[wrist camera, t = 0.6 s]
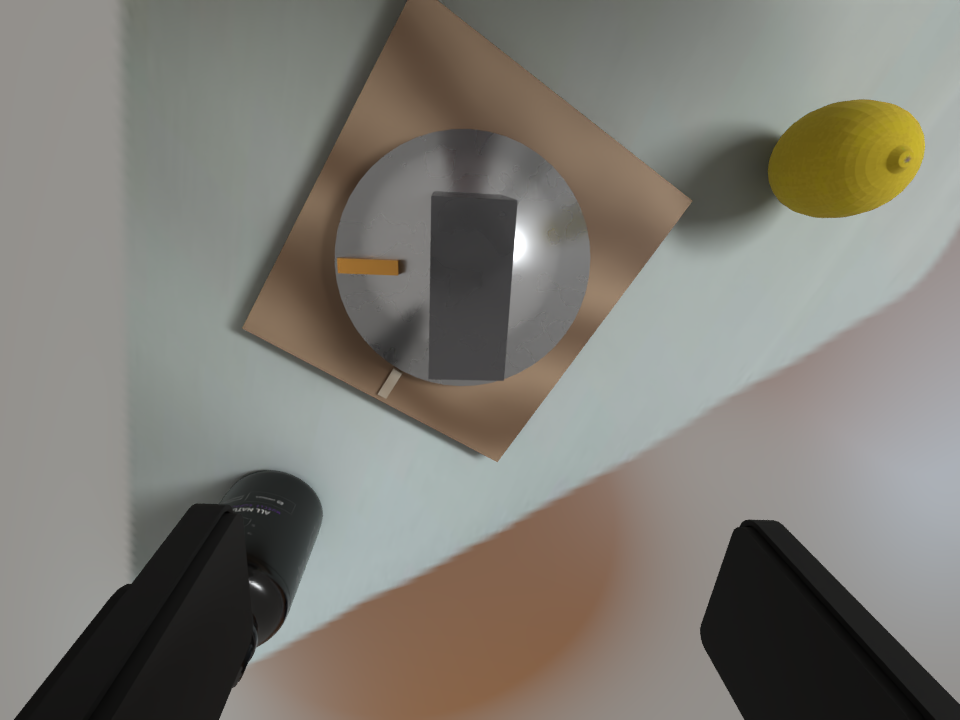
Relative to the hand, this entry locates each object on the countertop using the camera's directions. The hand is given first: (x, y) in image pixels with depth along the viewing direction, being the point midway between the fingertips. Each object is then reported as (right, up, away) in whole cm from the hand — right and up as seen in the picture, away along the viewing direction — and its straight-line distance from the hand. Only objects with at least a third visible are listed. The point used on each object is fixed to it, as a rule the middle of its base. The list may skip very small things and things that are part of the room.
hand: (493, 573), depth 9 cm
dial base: (-1, +10, +20) cm, 22 cm away
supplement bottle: (-15, -6, +25) cm, 30 cm away
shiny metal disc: (-1, +9, +18) cm, 20 cm away
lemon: (+18, +16, +19) cm, 31 cm away
